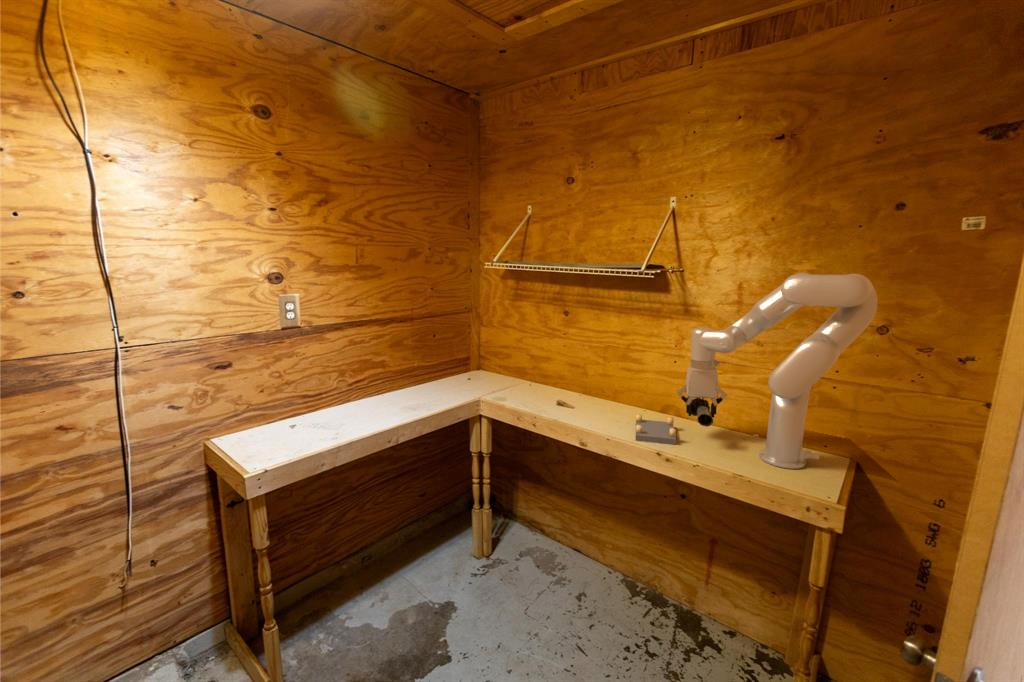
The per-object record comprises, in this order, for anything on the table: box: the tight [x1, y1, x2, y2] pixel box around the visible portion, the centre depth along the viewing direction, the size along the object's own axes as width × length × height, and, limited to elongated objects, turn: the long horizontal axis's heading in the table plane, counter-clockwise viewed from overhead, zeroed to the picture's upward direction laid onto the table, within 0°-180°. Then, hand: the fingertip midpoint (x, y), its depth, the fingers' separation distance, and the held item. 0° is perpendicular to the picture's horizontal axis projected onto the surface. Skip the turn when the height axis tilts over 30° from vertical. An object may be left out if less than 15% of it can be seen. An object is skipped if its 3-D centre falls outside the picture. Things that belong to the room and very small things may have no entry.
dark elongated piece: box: [691, 398, 714, 427], centre depth 156 cm, size 18×7×6 cm, turn 161°
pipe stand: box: [635, 413, 677, 446], centre depth 162 cm, size 13×16×4 cm
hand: (700, 415), depth 156 cm, fingers closed on dark elongated piece, 6 cm apart
